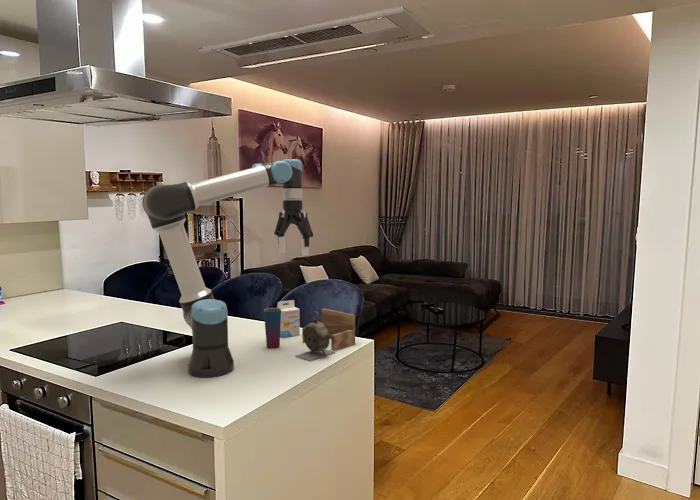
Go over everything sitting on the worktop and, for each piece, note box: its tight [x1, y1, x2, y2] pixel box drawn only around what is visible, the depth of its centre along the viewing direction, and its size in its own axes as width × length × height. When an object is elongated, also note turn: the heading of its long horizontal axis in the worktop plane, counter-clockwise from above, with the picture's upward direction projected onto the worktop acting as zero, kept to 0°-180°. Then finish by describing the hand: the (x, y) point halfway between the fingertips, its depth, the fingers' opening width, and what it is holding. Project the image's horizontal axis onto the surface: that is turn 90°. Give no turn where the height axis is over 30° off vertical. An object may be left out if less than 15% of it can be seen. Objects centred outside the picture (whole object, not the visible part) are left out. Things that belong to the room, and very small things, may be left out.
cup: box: [263, 307, 281, 350], centre depth 193 cm, size 7×7×15 cm
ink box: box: [277, 299, 301, 339], centre depth 210 cm, size 8×5×15 cm, turn 123°
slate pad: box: [294, 349, 336, 362], centre depth 184 cm, size 13×8×1 cm, turn 138°
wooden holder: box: [301, 308, 356, 352], centre depth 198 cm, size 12×18×12 cm
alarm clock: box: [303, 311, 331, 357], centre depth 183 cm, size 11×5×16 cm, turn 43°
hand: (293, 254), depth 192 cm, fingers open, 13 cm apart
